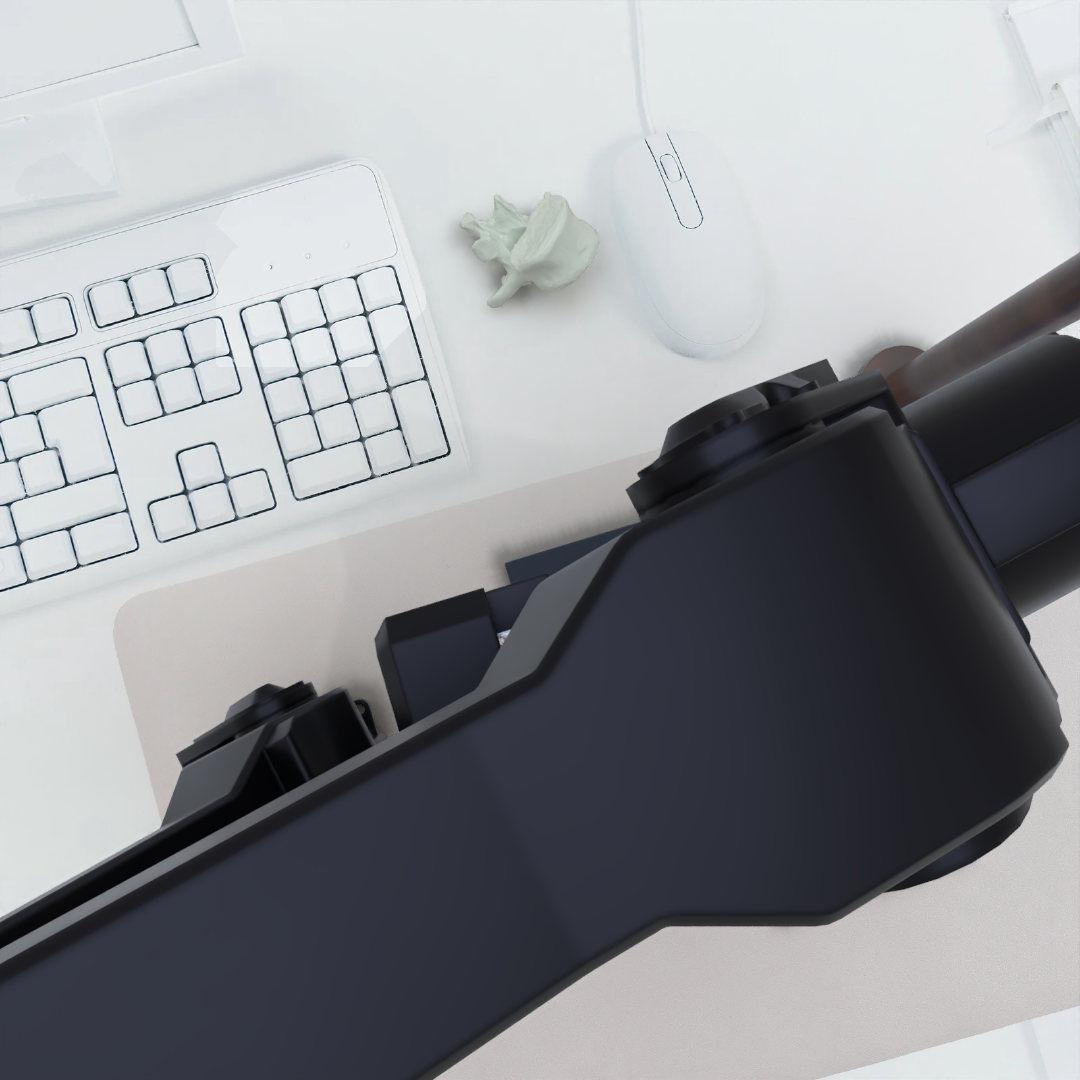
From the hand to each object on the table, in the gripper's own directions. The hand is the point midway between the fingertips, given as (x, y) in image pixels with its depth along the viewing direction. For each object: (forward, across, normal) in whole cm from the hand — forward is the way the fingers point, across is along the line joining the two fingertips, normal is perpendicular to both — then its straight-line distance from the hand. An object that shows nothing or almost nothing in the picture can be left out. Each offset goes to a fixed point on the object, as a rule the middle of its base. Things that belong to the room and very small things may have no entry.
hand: (635, 627), depth 43 cm
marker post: (+8, +17, +7) cm, 20 cm away
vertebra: (+4, 0, +20) cm, 20 cm away
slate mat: (+8, 0, 0) cm, 8 cm away
